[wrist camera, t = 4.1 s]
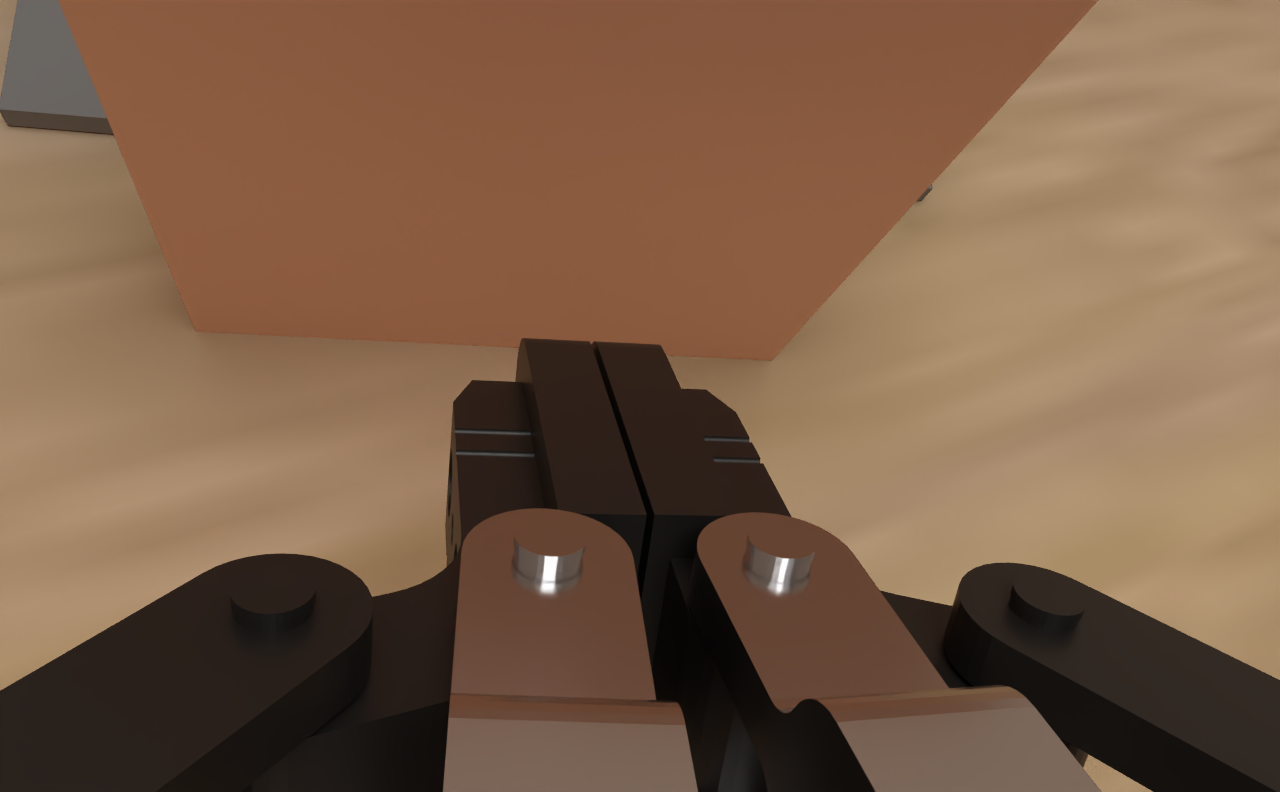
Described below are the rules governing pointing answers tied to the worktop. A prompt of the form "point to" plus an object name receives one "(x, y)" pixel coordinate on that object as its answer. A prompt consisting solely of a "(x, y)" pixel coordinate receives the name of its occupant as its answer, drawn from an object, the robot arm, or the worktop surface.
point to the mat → (54, 75)
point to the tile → (542, 155)
